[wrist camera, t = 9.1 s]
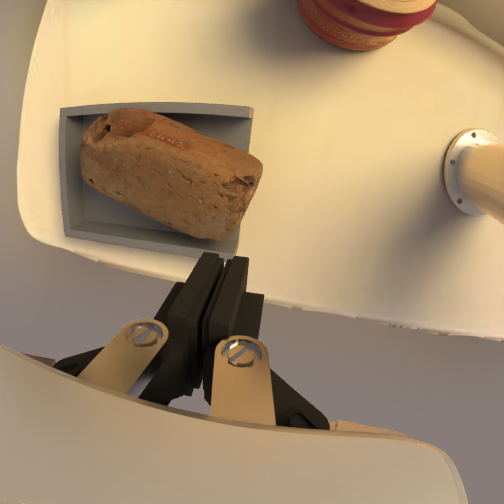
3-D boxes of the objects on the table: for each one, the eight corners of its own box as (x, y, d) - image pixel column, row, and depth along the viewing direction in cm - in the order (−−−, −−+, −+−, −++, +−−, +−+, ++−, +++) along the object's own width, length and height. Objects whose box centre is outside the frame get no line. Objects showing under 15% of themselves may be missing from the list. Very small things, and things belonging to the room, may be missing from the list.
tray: (253, 108, 33) (249, 106, 29) (237, 248, 41) (232, 262, 37) (78, 107, 34) (60, 108, 30) (81, 225, 42) (65, 236, 38)
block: (222, 257, 35) (77, 190, 32) (240, 212, 40) (109, 155, 37) (257, 195, 27) (73, 118, 24) (273, 151, 31) (114, 88, 28)
